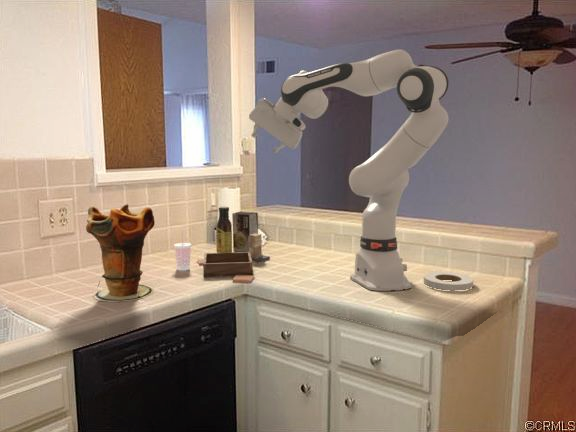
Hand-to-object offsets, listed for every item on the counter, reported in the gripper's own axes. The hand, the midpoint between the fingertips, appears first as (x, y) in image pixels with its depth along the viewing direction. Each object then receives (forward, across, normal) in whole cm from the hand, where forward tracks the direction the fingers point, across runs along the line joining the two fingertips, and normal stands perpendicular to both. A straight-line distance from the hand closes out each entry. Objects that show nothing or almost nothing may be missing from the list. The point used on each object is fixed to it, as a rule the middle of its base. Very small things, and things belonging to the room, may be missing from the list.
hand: (263, 144), depth 187 cm
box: (+43, +16, -8) cm, 47 cm away
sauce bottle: (+47, +10, +14) cm, 50 cm away
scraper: (+39, +21, +10) cm, 46 cm away
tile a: (+50, +8, +2) cm, 51 cm away
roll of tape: (+1, +78, -17) cm, 80 cm away
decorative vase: (+58, -3, -39) cm, 70 cm away
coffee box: (+44, +15, +25) cm, 53 cm away
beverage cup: (+53, +3, -8) cm, 54 cm away
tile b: (+39, +24, -20) cm, 50 cm away
